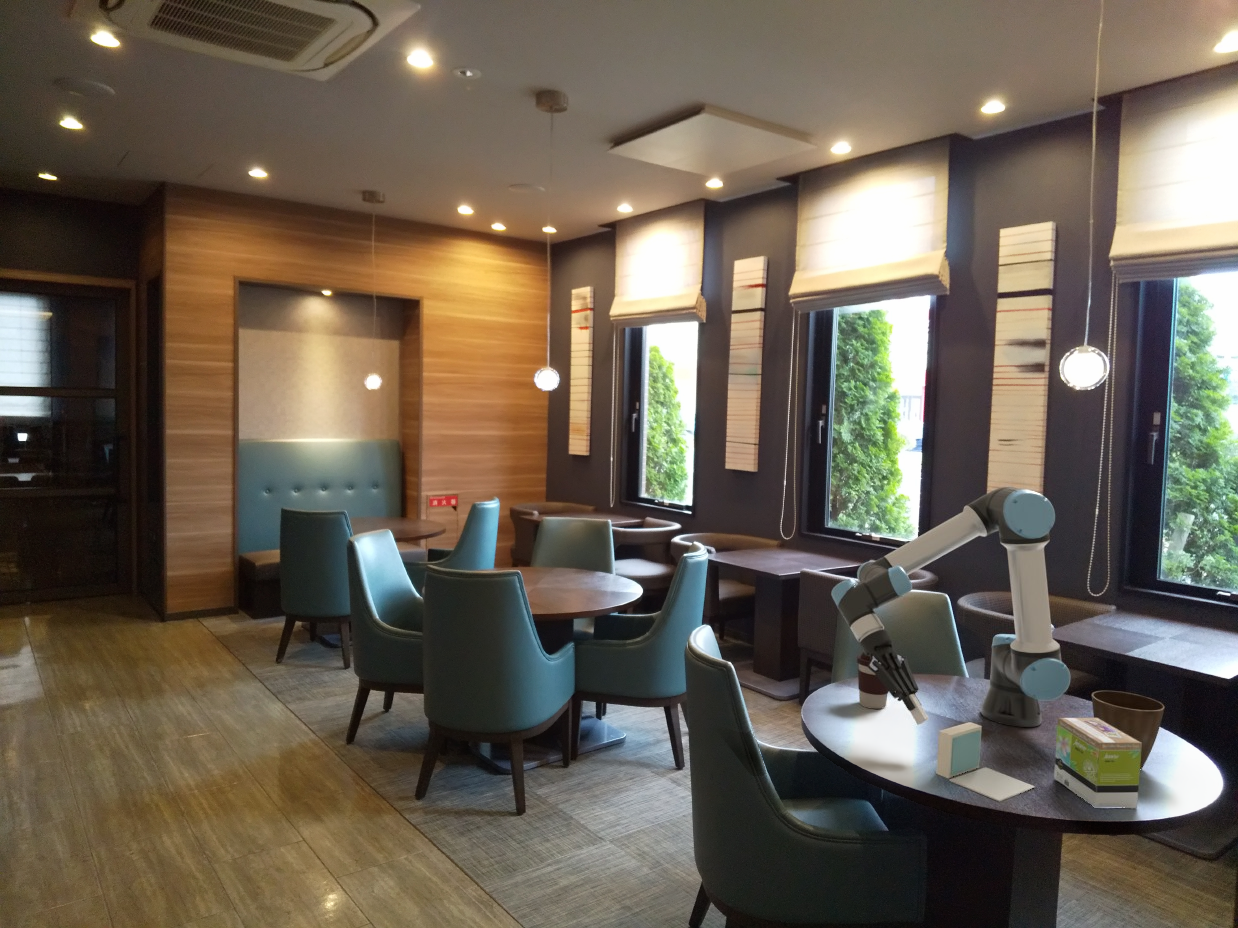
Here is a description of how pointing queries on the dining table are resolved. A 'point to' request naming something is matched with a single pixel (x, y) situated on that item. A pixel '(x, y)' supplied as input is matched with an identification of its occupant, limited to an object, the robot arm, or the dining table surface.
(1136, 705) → the plant pot
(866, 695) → the coffee cup
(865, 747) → the dining table surface
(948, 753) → the tile
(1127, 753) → the tea box
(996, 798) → the mat
